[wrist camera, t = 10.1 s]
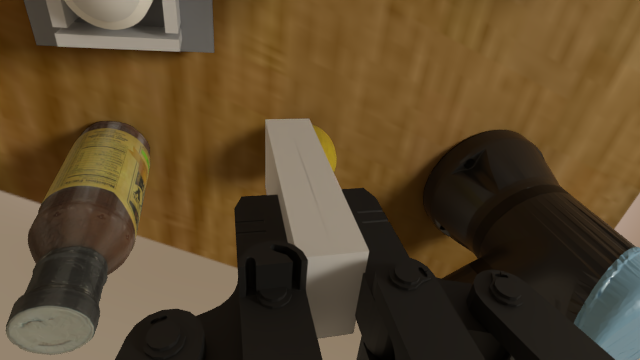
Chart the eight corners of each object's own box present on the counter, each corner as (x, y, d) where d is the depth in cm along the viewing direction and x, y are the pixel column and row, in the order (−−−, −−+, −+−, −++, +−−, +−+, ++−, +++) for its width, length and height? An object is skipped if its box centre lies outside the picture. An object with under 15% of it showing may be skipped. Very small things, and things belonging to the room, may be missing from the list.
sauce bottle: (135, 184, 39) (86, 380, 23) (66, 157, 35) (-45, 363, 20) (165, 135, 36) (135, 315, 21) (95, 102, 33) (-4, 284, 18)
